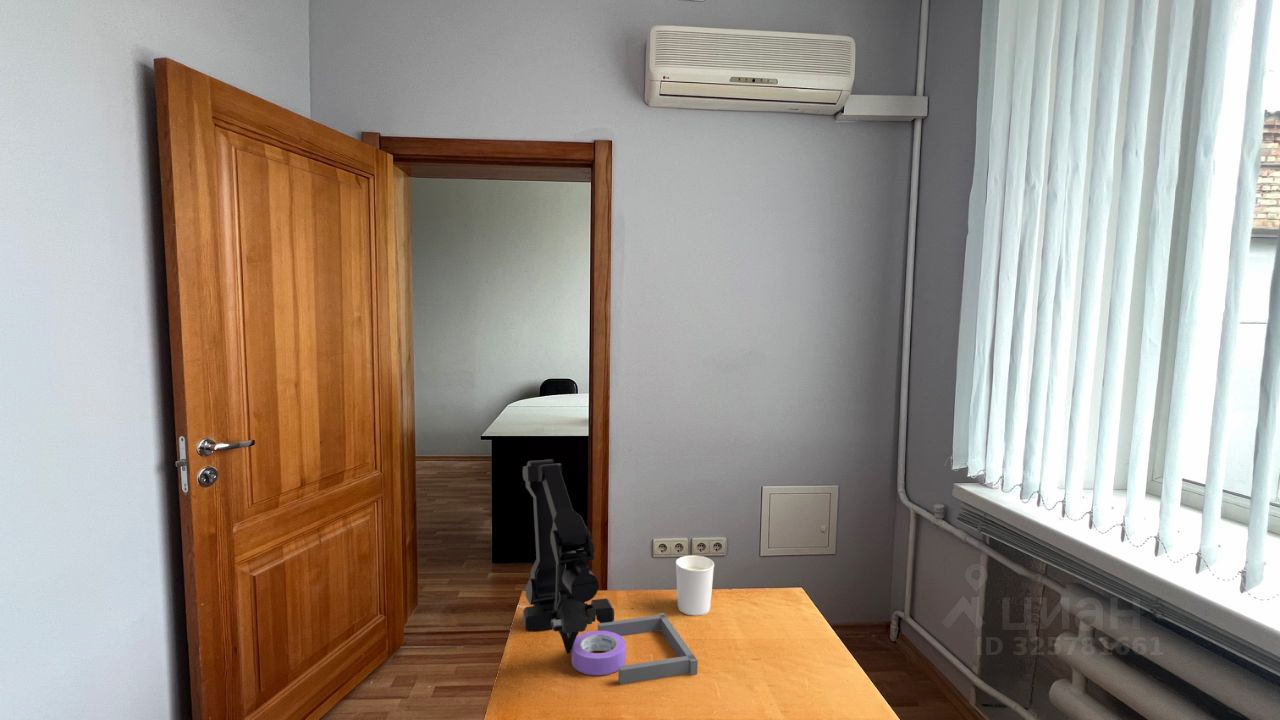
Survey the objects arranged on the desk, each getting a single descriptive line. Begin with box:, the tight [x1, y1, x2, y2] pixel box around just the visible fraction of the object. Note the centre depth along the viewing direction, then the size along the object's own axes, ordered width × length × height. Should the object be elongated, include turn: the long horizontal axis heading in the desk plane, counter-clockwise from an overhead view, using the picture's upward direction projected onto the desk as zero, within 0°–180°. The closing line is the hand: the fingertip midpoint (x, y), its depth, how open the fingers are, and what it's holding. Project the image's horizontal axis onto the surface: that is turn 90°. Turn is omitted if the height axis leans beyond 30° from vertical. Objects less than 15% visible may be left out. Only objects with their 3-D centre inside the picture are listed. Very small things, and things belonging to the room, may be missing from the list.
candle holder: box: [675, 555, 715, 616], centre depth 158 cm, size 10×10×12 cm
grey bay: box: [597, 612, 699, 686], centre depth 136 cm, size 22×16×3 cm
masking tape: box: [571, 630, 627, 676], centre depth 133 cm, size 12×12×4 cm
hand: (567, 653), depth 131 cm, fingers closed
